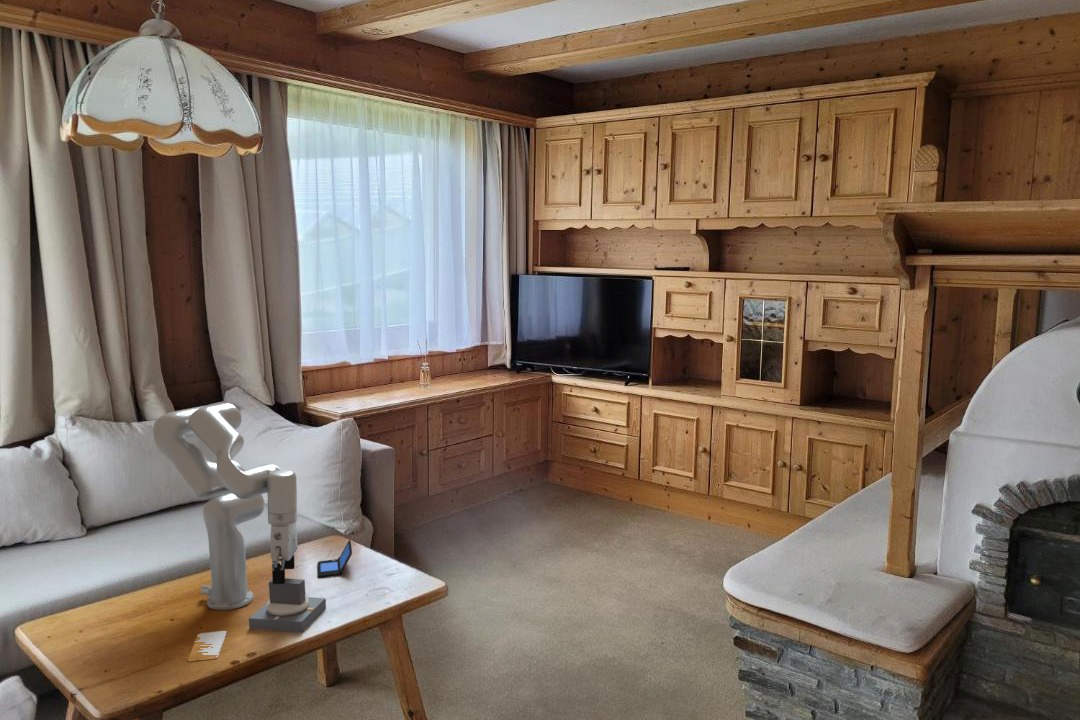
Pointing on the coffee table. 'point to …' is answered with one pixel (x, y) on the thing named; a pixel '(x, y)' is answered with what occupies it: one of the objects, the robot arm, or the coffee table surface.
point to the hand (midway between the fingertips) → (283, 576)
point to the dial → (287, 597)
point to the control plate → (288, 618)
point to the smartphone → (212, 642)
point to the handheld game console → (335, 564)
